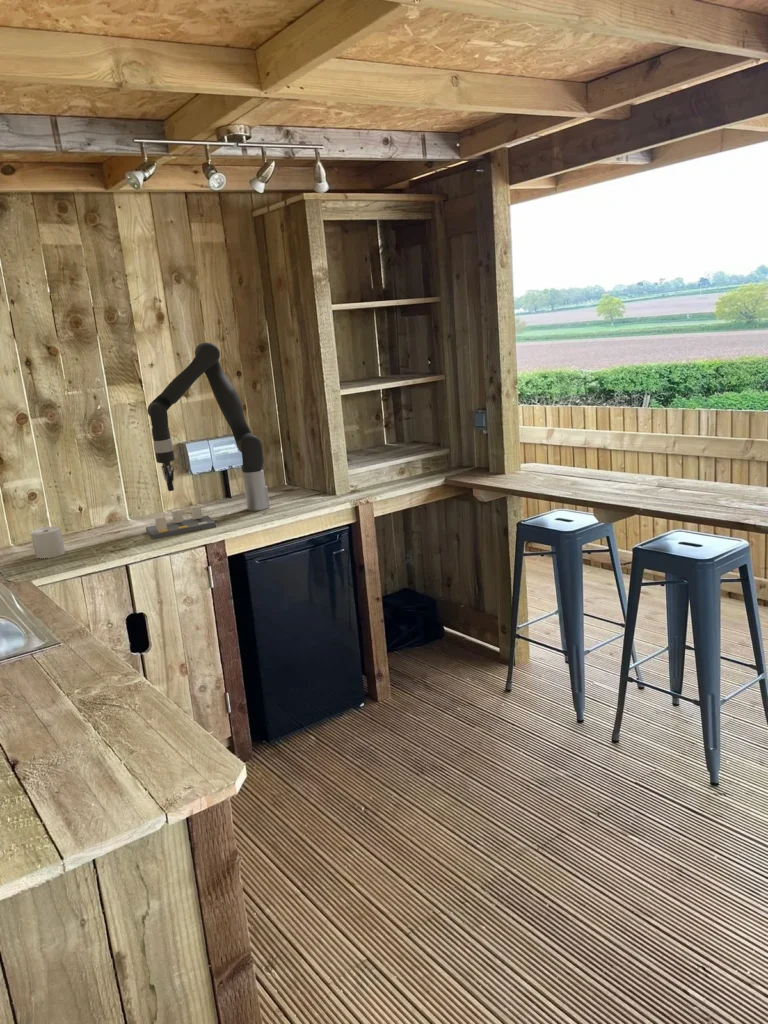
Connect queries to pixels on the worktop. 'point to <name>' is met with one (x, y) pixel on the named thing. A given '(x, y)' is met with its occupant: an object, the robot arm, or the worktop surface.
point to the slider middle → (177, 515)
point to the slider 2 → (196, 512)
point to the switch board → (181, 527)
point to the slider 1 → (160, 523)
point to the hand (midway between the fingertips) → (170, 490)
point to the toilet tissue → (47, 542)
